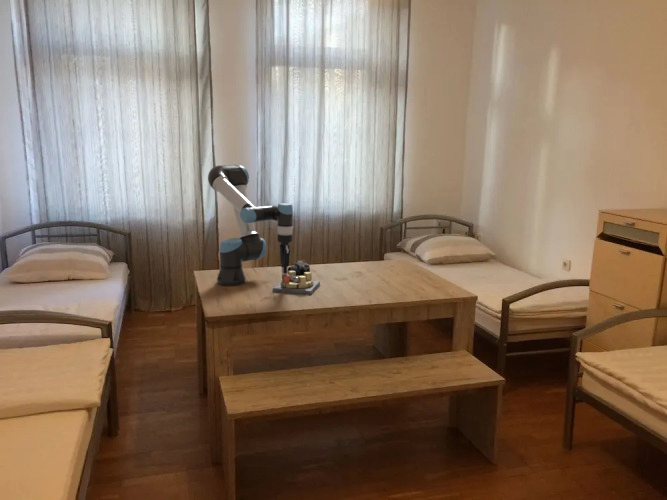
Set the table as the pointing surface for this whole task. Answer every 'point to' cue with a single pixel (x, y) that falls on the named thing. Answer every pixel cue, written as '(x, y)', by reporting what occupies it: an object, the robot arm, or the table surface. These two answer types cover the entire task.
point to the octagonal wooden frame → (302, 280)
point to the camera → (300, 268)
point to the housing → (296, 290)
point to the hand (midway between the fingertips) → (284, 278)
